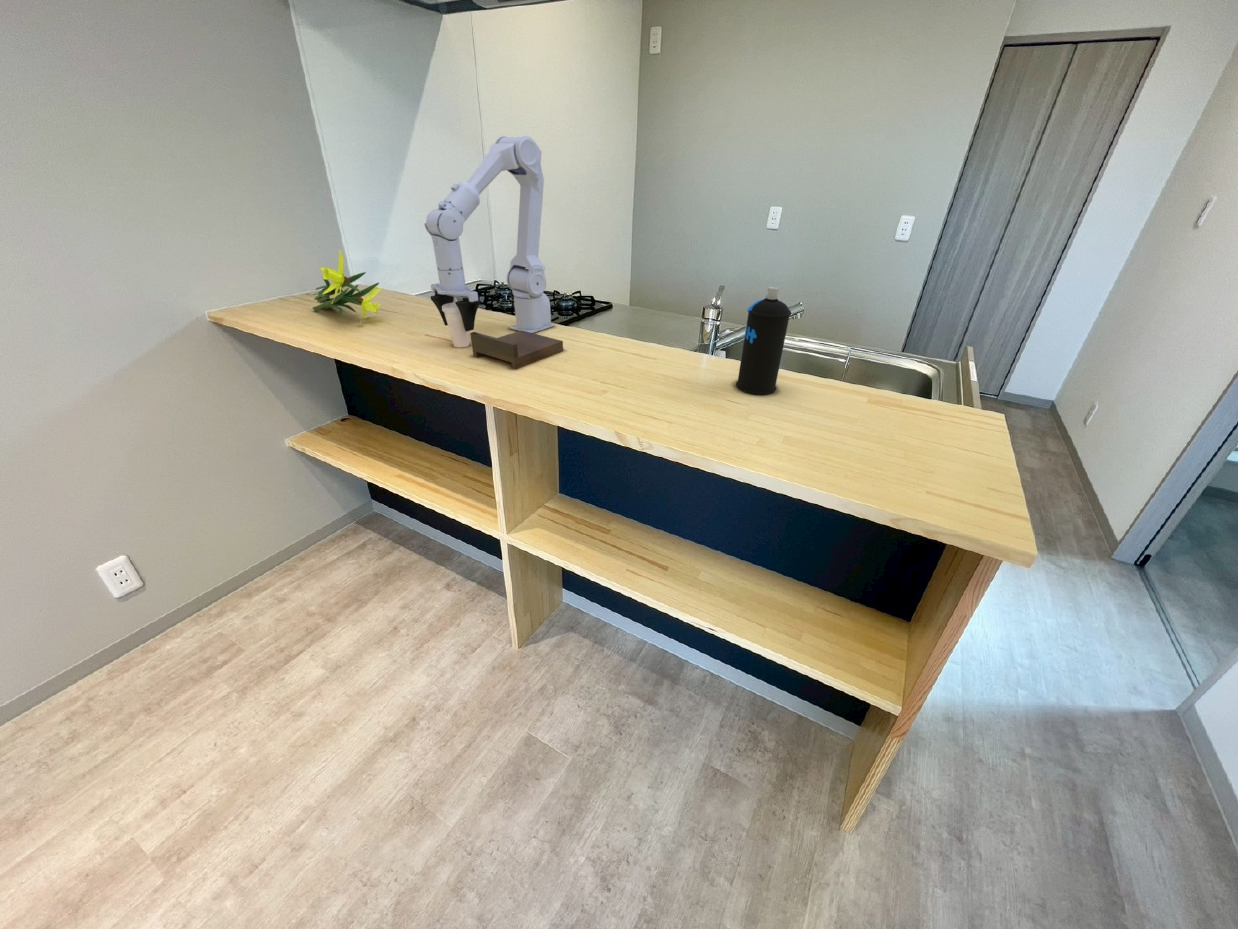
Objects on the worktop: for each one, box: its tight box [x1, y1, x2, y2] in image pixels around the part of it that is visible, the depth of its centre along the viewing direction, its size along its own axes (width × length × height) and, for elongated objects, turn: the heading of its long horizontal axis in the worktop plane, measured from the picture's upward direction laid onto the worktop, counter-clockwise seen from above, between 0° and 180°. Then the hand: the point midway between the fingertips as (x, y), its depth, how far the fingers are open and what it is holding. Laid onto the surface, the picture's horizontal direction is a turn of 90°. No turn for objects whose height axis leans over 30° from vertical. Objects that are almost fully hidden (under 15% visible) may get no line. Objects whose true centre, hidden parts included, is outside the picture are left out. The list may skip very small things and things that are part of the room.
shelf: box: [469, 330, 564, 370], centre depth 116 cm, size 16×14×6 cm
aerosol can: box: [735, 286, 792, 396], centre depth 97 cm, size 8×8×20 cm
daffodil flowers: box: [311, 249, 383, 326], centre depth 136 cm, size 17×15×35 cm
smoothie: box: [442, 297, 470, 349], centre depth 118 cm, size 6×6×14 cm
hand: (459, 327), depth 120 cm, fingers open, 7 cm apart
